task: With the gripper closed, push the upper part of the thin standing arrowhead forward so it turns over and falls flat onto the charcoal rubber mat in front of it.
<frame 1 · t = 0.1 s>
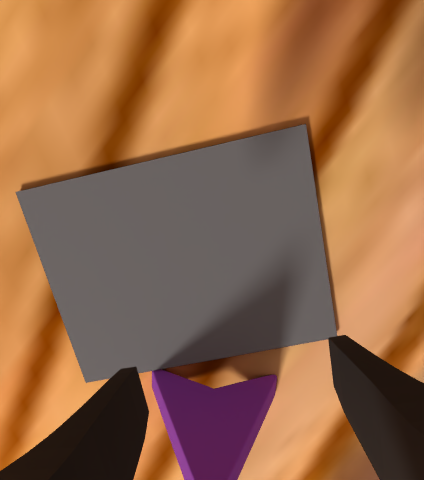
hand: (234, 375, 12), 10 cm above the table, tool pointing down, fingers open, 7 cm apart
mat: (184, 265, 22), on the table
arrowhead: (214, 378, 24), on the table
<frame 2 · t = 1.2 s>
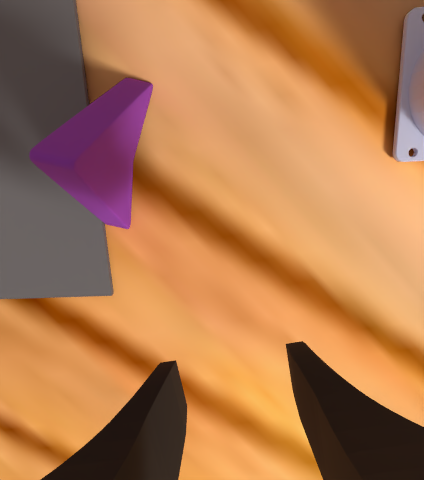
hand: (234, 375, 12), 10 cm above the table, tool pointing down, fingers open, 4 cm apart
arrowhead: (129, 157, 21), on the table
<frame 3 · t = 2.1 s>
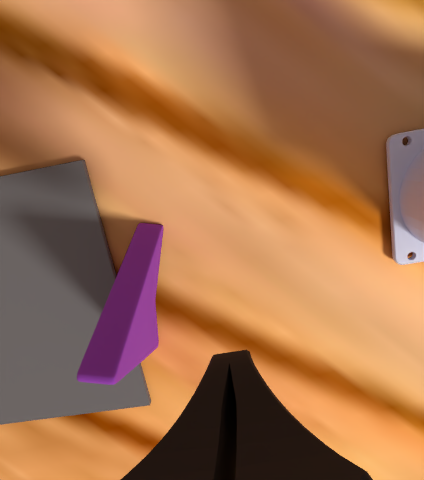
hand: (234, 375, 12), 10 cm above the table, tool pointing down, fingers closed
mat: (26, 307, 23), on the table
arrowhead: (149, 285, 23), on the table
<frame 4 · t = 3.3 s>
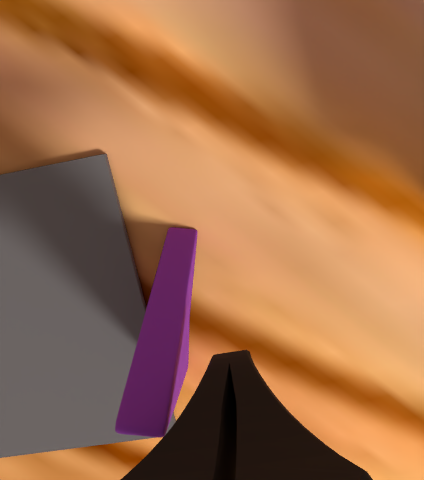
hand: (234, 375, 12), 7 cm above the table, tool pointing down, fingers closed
mat: (35, 324, 20), on the table
arrowhead: (179, 299, 20), on the table
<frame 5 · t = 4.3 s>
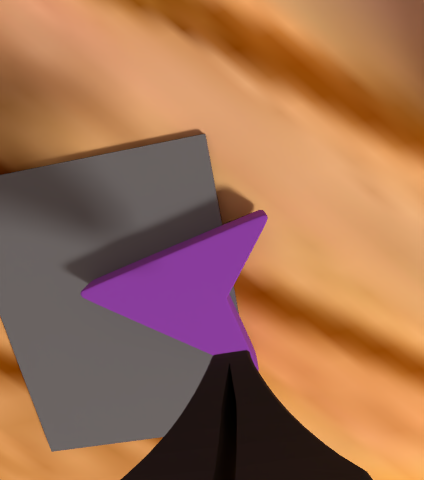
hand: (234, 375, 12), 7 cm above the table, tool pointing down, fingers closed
mat: (119, 311, 20), on the table
arrowhead: (264, 293, 18), point 1 cm above the table, touching mat
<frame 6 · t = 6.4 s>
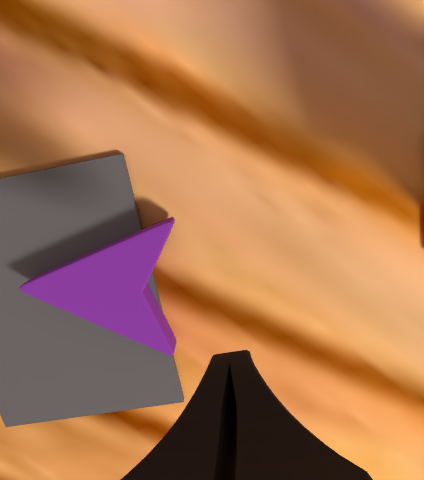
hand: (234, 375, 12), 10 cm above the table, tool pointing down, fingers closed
mat: (59, 304, 23), on the table
arrowhead: (177, 287, 21), point 1 cm above the table, touching mat
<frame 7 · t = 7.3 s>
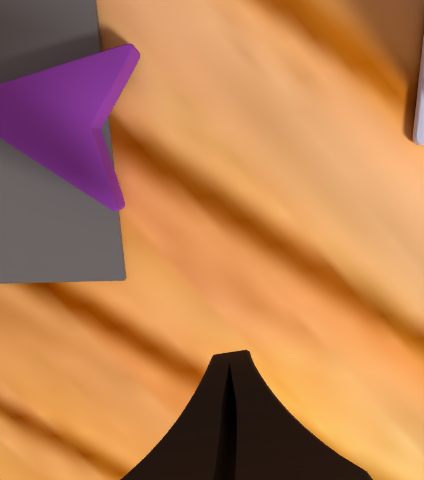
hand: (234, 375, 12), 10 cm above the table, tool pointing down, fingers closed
arrowhead: (132, 134, 19), point 1 cm above the table, touching mat
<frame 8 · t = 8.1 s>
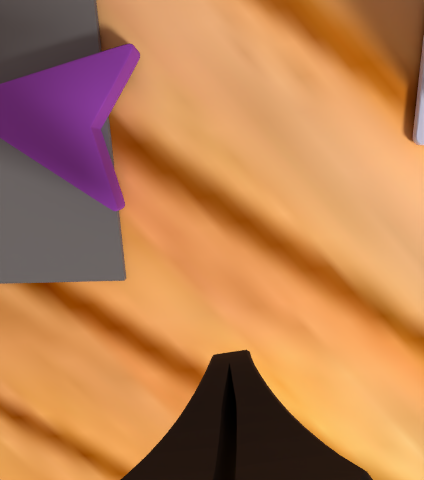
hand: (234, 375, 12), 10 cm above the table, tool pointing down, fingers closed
arrowhead: (132, 134, 19), point 1 cm above the table, touching mat
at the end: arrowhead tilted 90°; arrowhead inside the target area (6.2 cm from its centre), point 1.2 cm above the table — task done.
